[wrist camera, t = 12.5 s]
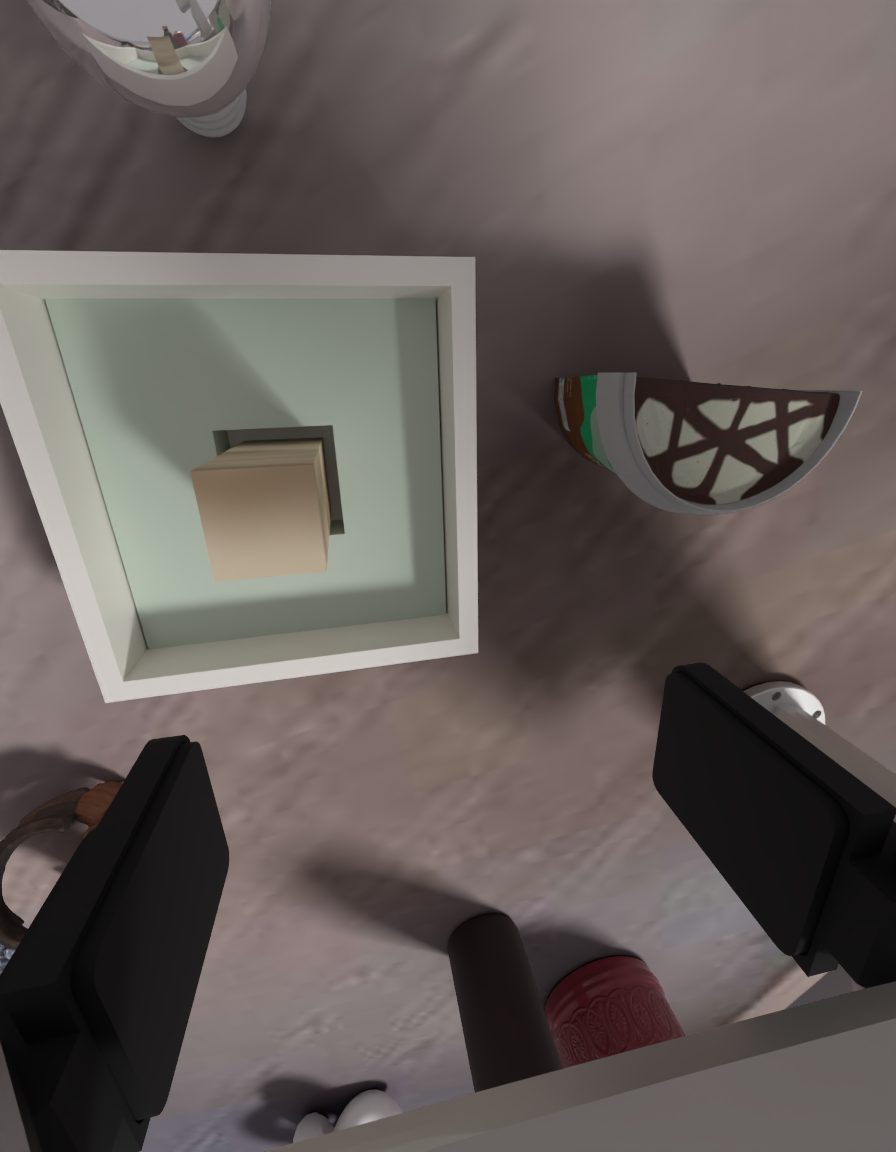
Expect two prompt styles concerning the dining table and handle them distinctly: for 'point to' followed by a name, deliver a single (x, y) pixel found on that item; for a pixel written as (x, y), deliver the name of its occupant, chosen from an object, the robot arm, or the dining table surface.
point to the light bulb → (167, 52)
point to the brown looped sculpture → (47, 818)
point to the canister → (608, 1011)
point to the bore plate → (253, 401)
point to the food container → (700, 437)
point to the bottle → (499, 1004)
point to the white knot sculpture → (349, 1115)
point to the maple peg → (265, 508)
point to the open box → (72, 490)
